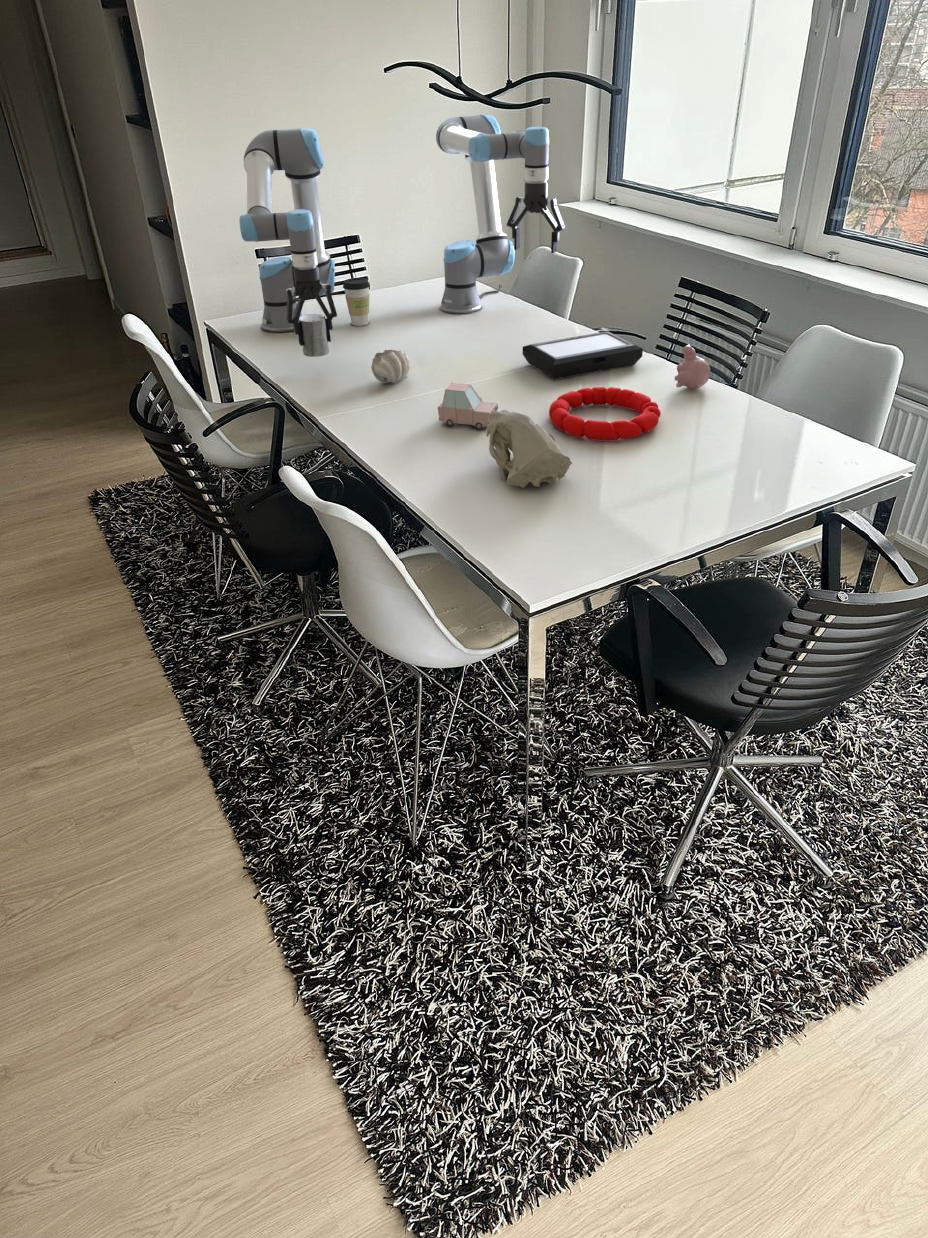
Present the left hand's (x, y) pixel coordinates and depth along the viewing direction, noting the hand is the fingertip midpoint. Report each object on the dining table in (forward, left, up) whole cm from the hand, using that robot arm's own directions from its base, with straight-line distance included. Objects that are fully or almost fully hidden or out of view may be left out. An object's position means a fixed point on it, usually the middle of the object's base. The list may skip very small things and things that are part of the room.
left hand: (315, 342), depth 280 cm
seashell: (+16, +22, -9) cm, 29 cm away
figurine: (+44, +107, -9) cm, 116 cm away
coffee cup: (-49, +17, -9) cm, 53 cm away
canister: (0, 0, -3) cm, 3 cm away
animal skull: (+87, +46, -9) cm, 99 cm away
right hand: (-26, +77, +17) cm, 83 cm away
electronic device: (+16, +82, -9) cm, 85 cm away
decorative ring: (+62, +75, -9) cm, 98 cm away
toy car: (+54, +39, -9) cm, 67 cm away
